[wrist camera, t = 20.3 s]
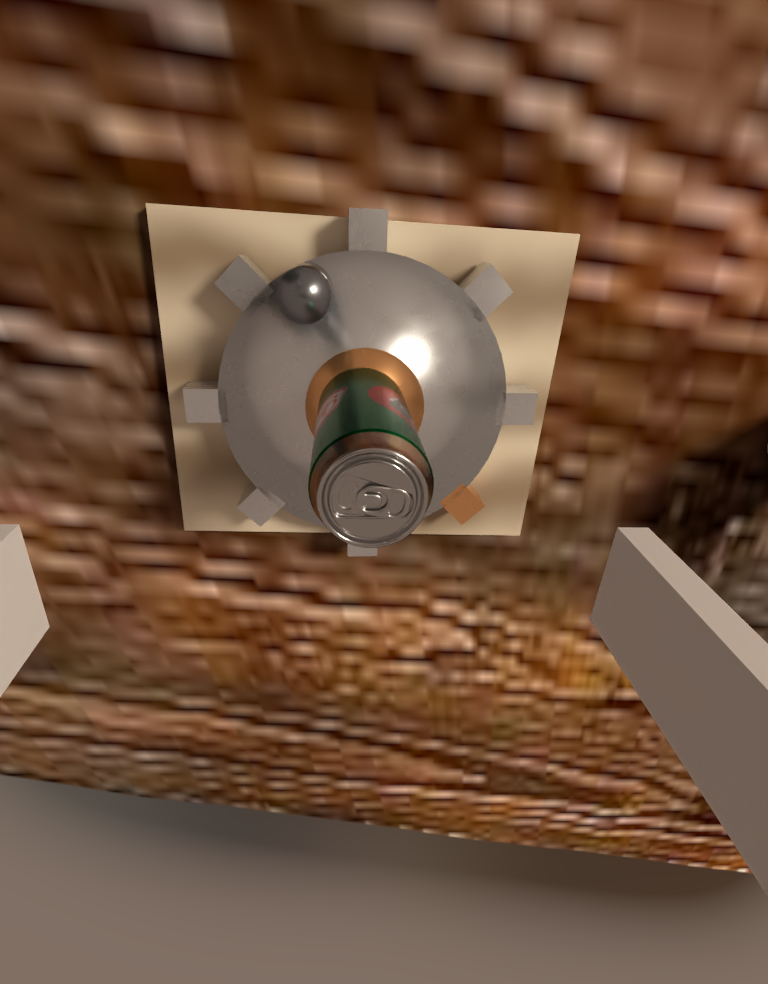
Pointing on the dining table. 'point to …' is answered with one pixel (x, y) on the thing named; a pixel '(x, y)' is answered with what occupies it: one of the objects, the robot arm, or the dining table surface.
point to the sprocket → (359, 366)
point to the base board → (297, 237)
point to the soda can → (368, 461)
